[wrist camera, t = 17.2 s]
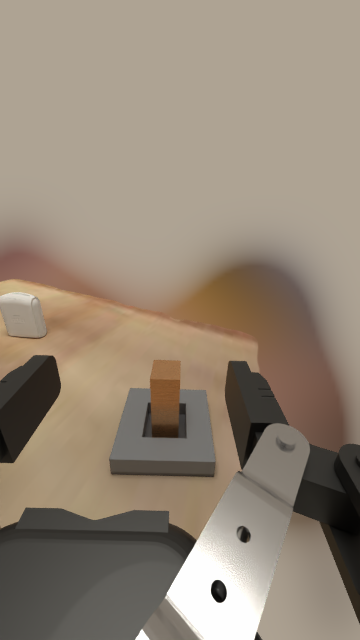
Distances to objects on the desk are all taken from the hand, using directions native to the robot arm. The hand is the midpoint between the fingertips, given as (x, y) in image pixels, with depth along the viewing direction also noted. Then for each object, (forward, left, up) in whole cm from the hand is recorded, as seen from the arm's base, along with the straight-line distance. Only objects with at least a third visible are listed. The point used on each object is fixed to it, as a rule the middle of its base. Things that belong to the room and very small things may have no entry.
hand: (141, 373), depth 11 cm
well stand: (0, +19, -26) cm, 32 cm away
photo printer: (-41, +51, -26) cm, 71 cm away
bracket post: (0, +19, -26) cm, 32 cm away
